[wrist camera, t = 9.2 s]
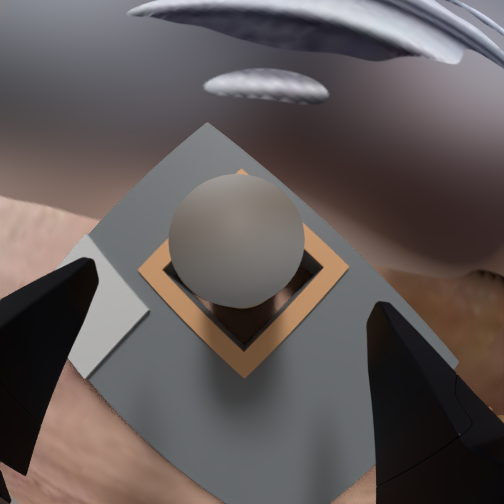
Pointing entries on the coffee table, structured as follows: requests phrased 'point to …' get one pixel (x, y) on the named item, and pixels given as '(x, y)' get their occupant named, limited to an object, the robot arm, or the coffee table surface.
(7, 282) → the coffee table surface
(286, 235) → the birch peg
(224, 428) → the gray peg hole board
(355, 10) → the coffee table surface
